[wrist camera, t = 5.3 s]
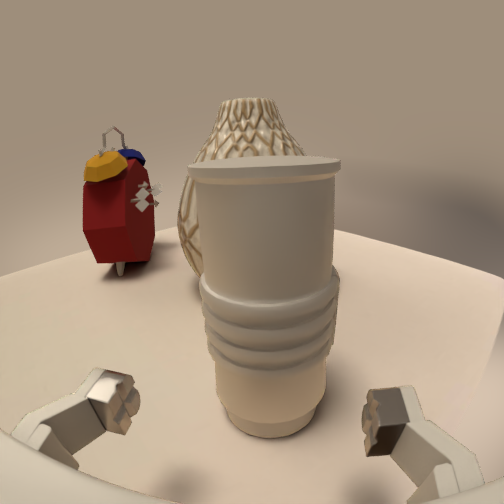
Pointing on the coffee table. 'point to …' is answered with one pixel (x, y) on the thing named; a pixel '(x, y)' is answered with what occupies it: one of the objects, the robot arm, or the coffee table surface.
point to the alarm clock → (119, 206)
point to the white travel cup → (268, 285)
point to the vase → (233, 146)
